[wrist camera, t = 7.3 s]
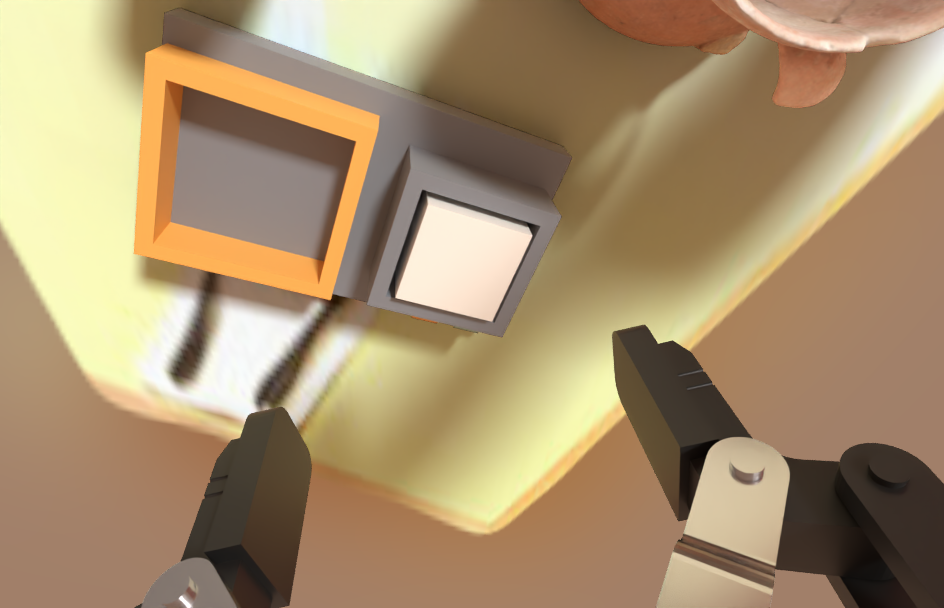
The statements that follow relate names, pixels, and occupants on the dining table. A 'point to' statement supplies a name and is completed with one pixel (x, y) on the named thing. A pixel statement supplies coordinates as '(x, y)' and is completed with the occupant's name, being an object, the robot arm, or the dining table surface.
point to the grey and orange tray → (317, 169)
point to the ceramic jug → (778, 32)
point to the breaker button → (459, 256)
